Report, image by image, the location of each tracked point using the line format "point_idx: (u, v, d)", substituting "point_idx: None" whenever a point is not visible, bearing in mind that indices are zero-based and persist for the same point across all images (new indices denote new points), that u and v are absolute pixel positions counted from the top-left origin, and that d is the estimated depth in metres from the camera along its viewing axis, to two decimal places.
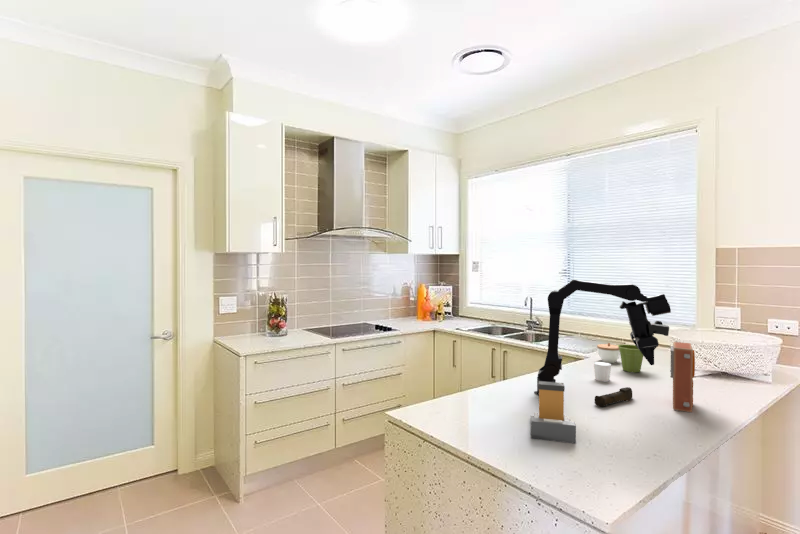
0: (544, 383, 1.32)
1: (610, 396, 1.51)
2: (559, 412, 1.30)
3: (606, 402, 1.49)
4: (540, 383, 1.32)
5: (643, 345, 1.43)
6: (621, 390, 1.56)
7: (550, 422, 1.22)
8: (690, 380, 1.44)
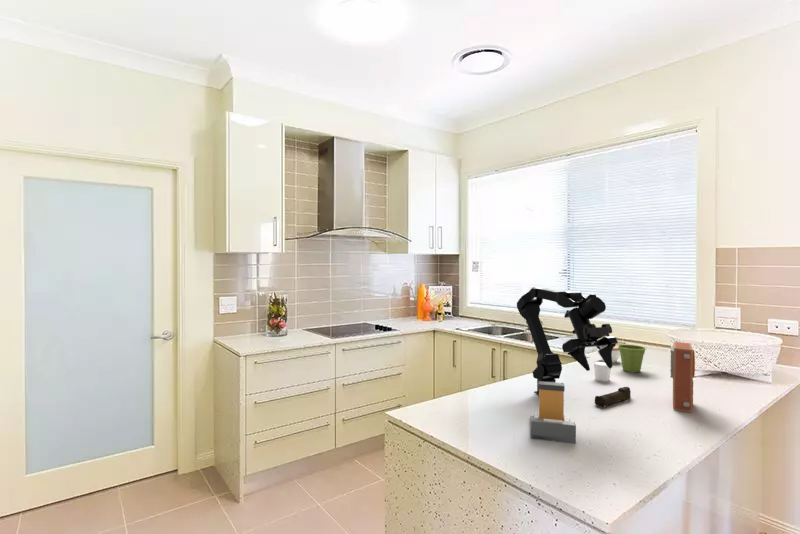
0: (544, 383, 1.32)
1: (610, 396, 1.51)
2: (559, 412, 1.30)
3: (606, 402, 1.49)
4: (540, 383, 1.32)
5: (565, 349, 1.40)
6: (620, 390, 1.56)
7: (550, 422, 1.22)
8: (690, 380, 1.44)
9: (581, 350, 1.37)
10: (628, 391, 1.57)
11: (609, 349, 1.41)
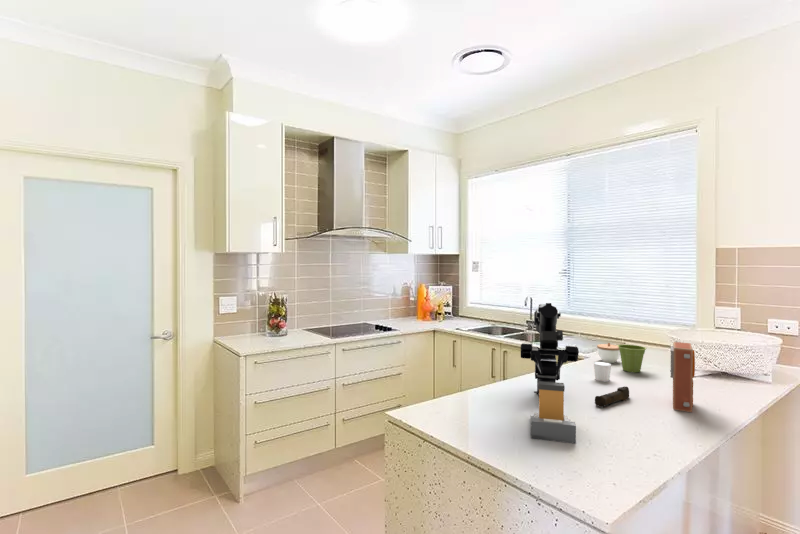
0: (544, 383, 1.32)
1: (610, 396, 1.51)
2: (559, 412, 1.30)
3: (606, 402, 1.49)
4: (540, 383, 1.32)
5: None
6: (619, 389, 1.57)
7: (550, 422, 1.22)
8: (690, 380, 1.44)
9: (536, 353, 1.45)
10: (627, 391, 1.57)
11: (559, 356, 1.43)
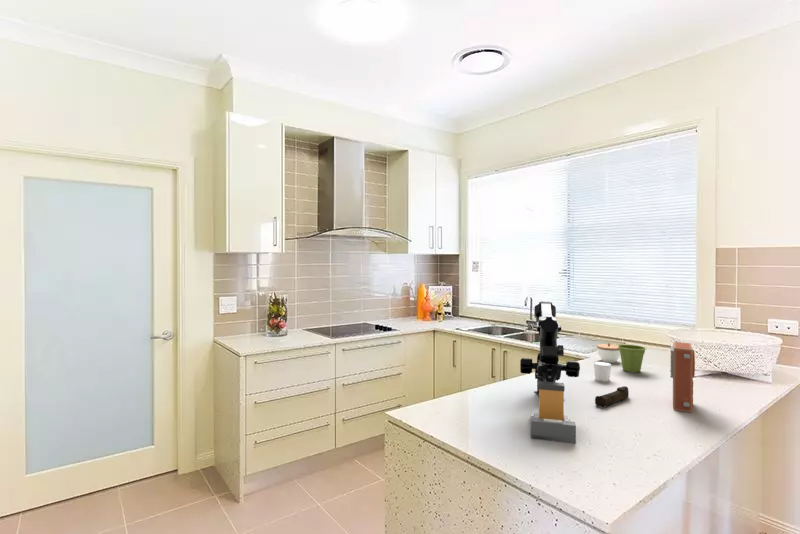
0: (544, 383, 1.32)
1: (610, 396, 1.51)
2: (559, 412, 1.30)
3: (607, 402, 1.49)
4: (540, 383, 1.32)
5: None
6: (619, 389, 1.57)
7: (550, 422, 1.22)
8: (690, 380, 1.44)
9: (543, 369, 1.41)
10: (626, 391, 1.57)
11: (552, 372, 1.40)
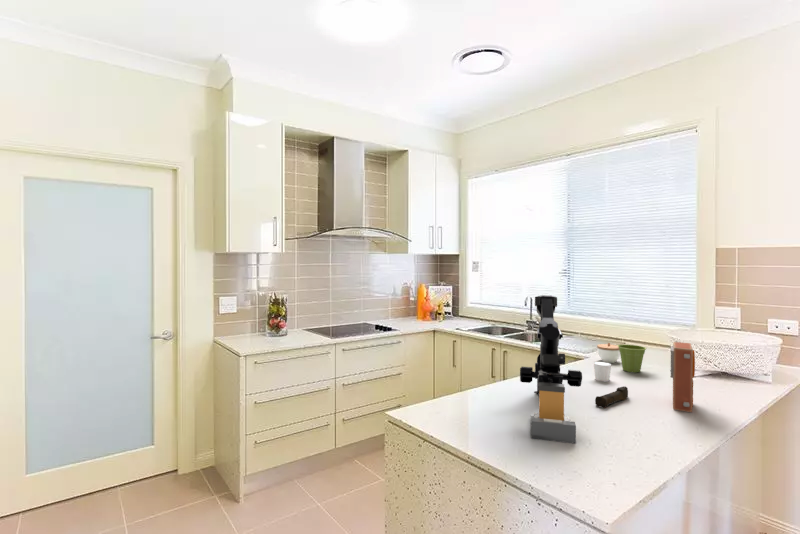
0: (544, 384, 1.30)
1: (610, 396, 1.51)
2: (559, 414, 1.28)
3: (607, 402, 1.49)
4: (540, 384, 1.31)
5: (520, 378, 1.41)
6: (618, 389, 1.57)
7: (550, 422, 1.22)
8: (690, 380, 1.44)
9: (543, 378, 1.35)
10: (626, 391, 1.58)
11: (553, 381, 1.34)
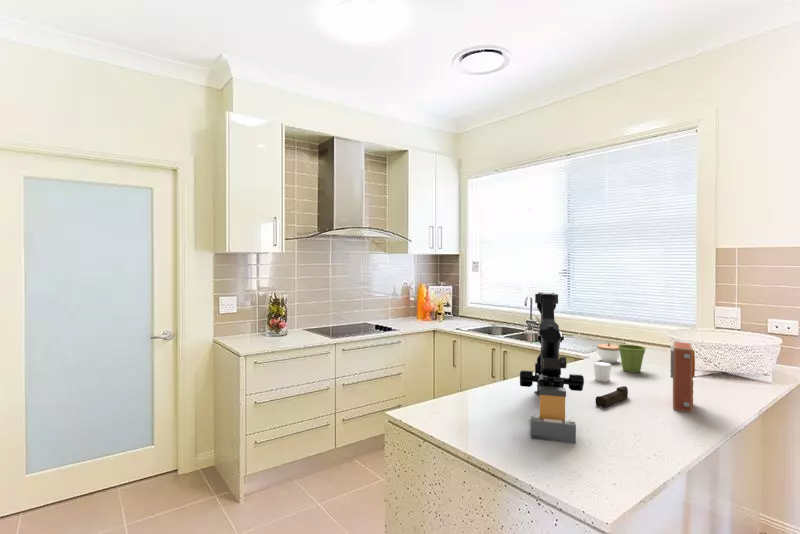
0: (545, 388, 1.26)
1: (610, 396, 1.51)
2: (561, 419, 1.24)
3: (607, 402, 1.49)
4: (541, 388, 1.27)
5: (520, 382, 1.37)
6: (618, 389, 1.57)
7: (550, 422, 1.22)
8: (690, 380, 1.44)
9: (544, 383, 1.31)
10: (626, 390, 1.58)
11: (554, 385, 1.30)
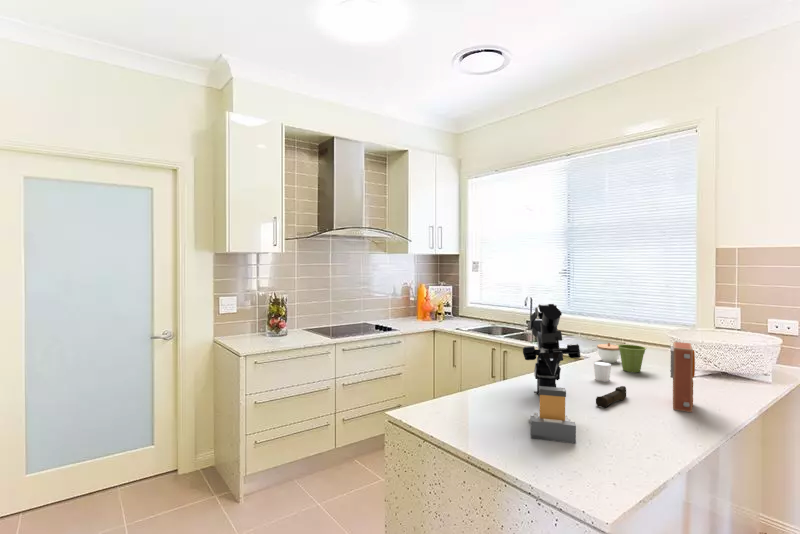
0: (545, 388, 1.26)
1: (610, 396, 1.51)
2: (561, 419, 1.24)
3: (608, 402, 1.49)
4: (541, 388, 1.27)
5: (524, 356, 1.54)
6: (617, 389, 1.57)
7: (550, 422, 1.22)
8: (690, 380, 1.44)
9: (545, 355, 1.48)
10: (625, 390, 1.58)
11: (554, 356, 1.47)
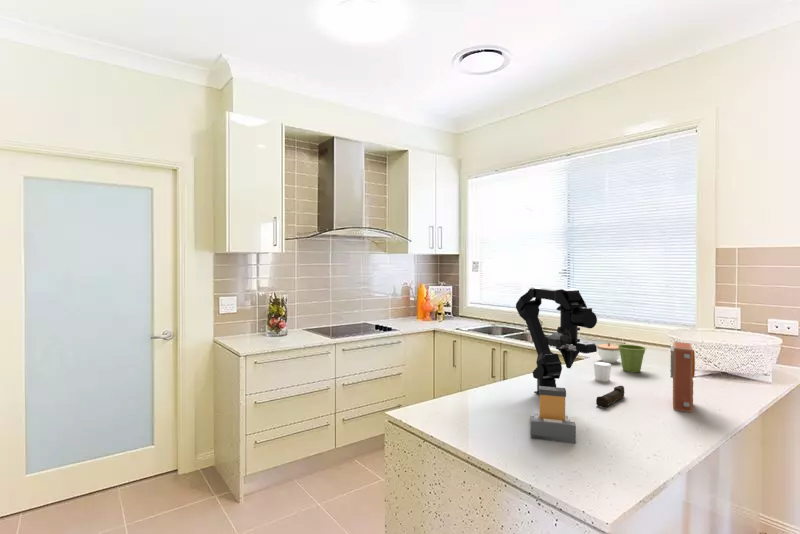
0: (545, 388, 1.26)
1: (610, 396, 1.51)
2: (561, 419, 1.24)
3: (608, 402, 1.49)
4: (541, 388, 1.27)
5: None
6: (616, 389, 1.57)
7: (550, 422, 1.22)
8: (690, 380, 1.44)
9: (559, 350, 1.52)
10: (623, 390, 1.59)
11: (567, 353, 1.50)
